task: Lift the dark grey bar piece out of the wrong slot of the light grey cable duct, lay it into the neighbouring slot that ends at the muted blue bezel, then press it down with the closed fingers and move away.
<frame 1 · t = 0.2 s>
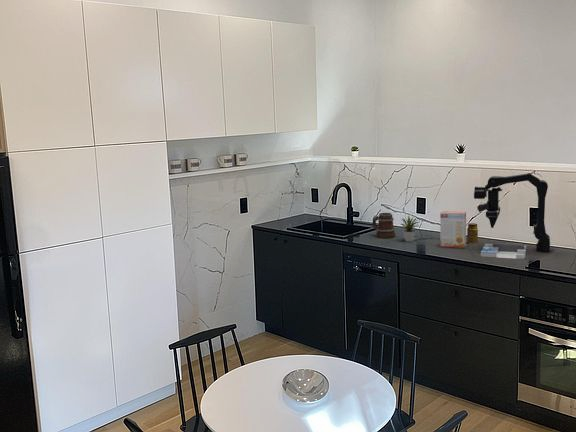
hand: (493, 226, 337), 14 cm above the table, tool pointing down, fingers open, 9 cm apart
cracker box: (453, 246, 351), on the table
condiment: (471, 244, 356), on the table
mug: (382, 236, 386), on the table
house plant: (408, 241, 369), on the table
dark grey bar piece: (508, 250, 332), point 1 cm above the table, touching duct
duct: (503, 254, 328), on the table
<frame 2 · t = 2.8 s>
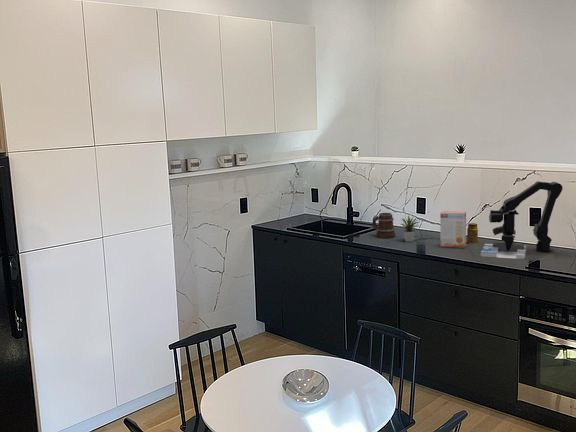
hand: (508, 249, 332), 2 cm above the table, tool pointing down, fingers closed on dark grey bar piece, 4 cm apart
dark grey bar piece: (508, 250, 332), point 1 cm above the table, touching duct, gripper
everything else where it was.
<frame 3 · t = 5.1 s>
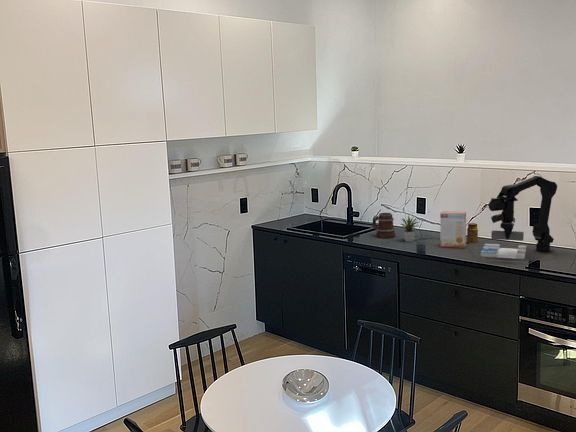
hand: (507, 238, 321), 11 cm above the table, tool pointing down, fingers closed on dark grey bar piece, 4 cm apart
dark grey bar piece: (507, 239, 321), point 10 cm above the table, touching gripper
everything else where it was.
when the fingers open (3 cm above the table, at t = 7.4 s): dark grey bar piece drops 1 cm, resting on duct.
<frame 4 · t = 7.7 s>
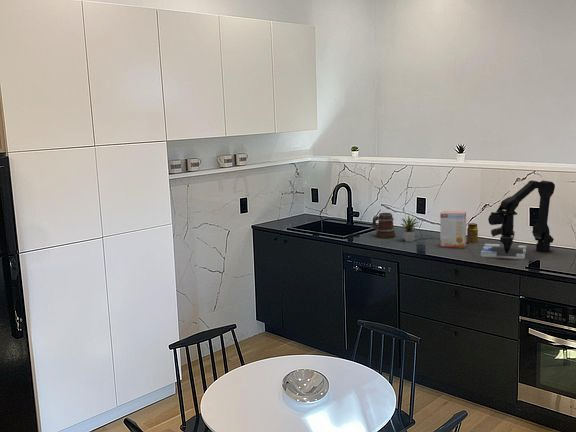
hand: (507, 251, 323), 3 cm above the table, tool pointing down, fingers open, 7 cm apart
dark grey bar piece: (506, 255, 323), point 1 cm above the table, touching duct
everything else where it was.
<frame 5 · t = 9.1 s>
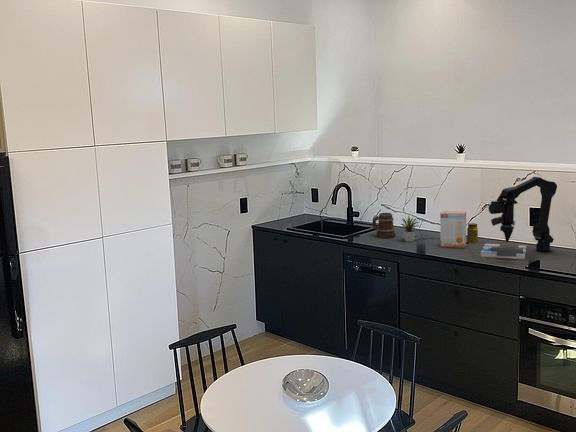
hand: (507, 240, 321), 9 cm above the table, tool pointing down, fingers open, 4 cm apart
nothing on the table moved.
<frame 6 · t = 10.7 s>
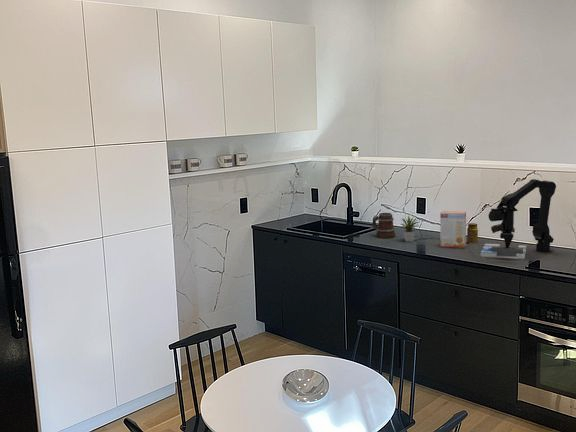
hand: (507, 248, 322), 5 cm above the table, tool pointing down, fingers closed, pressing on dark grey bar piece
dark grey bar piece: (506, 255, 323), point 1 cm above the table, touching duct, gripper
everything else where it was.
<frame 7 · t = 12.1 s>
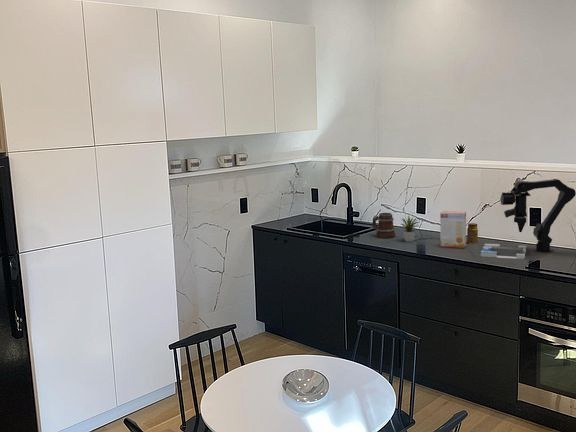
hand: (520, 232, 328), 12 cm above the table, tool pointing down, fingers closed
dark grey bar piece: (506, 255, 323), point 1 cm above the table, touching duct
everything else where it was.
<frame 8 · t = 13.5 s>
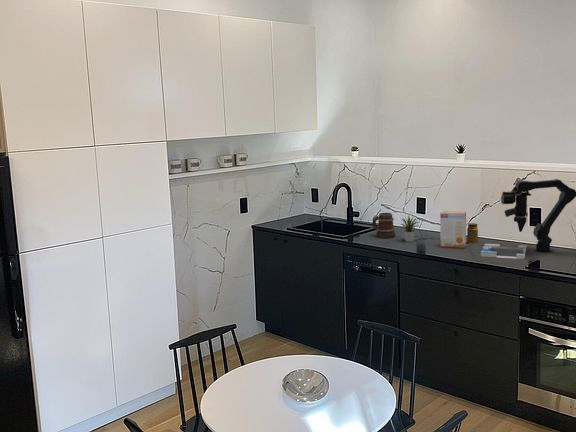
hand: (520, 231, 328), 12 cm above the table, tool pointing down, fingers closed
nothing on the table moved.
at the end: dark grey bar piece 0.1 cm from the target spot on the duct, point 1.0 cm above the duct's base; dark grey bar piece tilted 0°; the gripper is holding nothing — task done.
